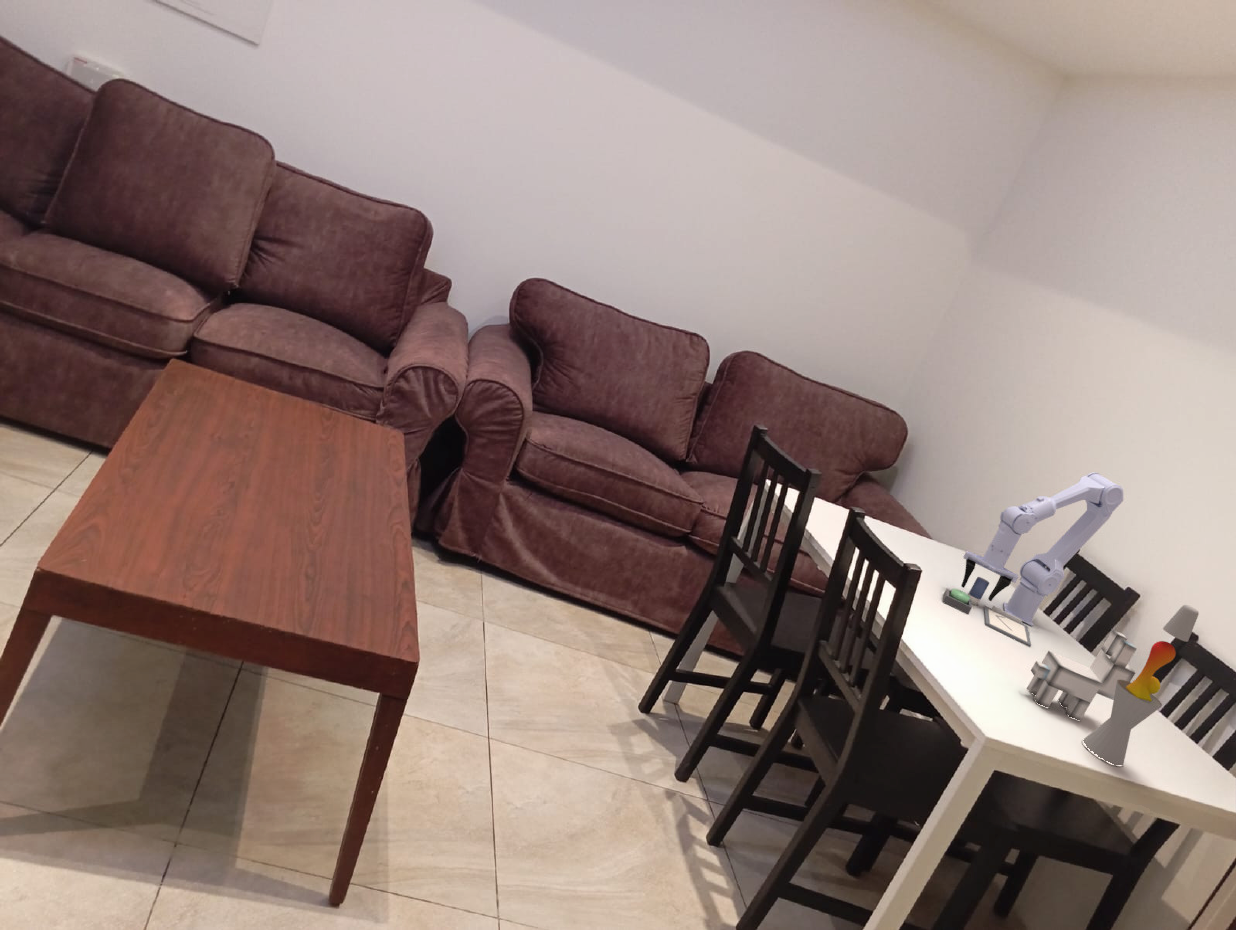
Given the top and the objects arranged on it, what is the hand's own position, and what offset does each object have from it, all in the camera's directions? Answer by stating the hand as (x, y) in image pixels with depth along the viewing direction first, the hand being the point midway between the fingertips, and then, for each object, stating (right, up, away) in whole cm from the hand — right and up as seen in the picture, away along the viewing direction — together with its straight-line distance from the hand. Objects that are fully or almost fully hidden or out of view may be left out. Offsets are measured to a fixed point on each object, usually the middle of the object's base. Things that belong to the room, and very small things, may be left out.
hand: (976, 593), depth 276 cm
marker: (-1, -3, +1) cm, 3 cm away
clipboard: (+5, -8, -8) cm, 12 cm away
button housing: (-8, -2, -7) cm, 11 cm away
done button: (-7, -1, -8) cm, 11 cm away
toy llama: (0, -19, -50) cm, 54 cm away
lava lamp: (+3, -25, -66) cm, 71 cm away
